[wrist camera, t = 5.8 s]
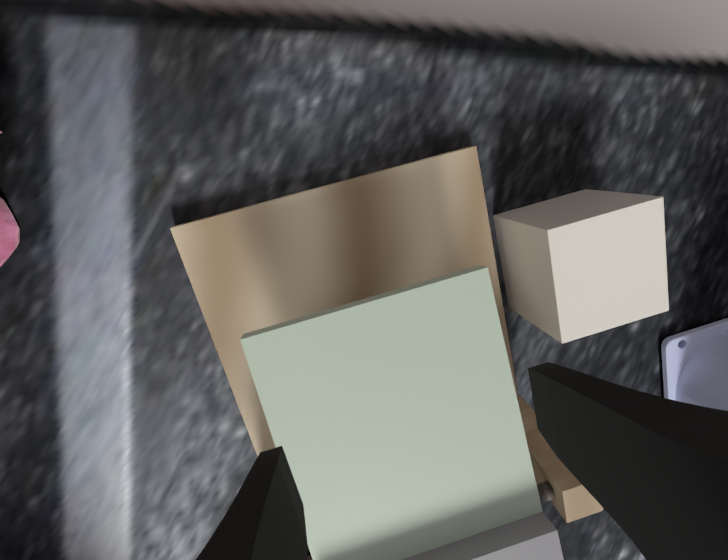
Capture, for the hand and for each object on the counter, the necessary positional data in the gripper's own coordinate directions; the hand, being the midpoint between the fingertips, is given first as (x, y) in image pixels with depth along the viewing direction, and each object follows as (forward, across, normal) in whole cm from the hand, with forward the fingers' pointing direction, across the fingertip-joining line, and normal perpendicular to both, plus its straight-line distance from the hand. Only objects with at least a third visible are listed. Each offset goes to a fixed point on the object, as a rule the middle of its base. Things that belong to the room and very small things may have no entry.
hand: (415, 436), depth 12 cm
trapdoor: (+6, 0, +4) cm, 7 cm away
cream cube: (+10, -10, 0) cm, 15 cm away
